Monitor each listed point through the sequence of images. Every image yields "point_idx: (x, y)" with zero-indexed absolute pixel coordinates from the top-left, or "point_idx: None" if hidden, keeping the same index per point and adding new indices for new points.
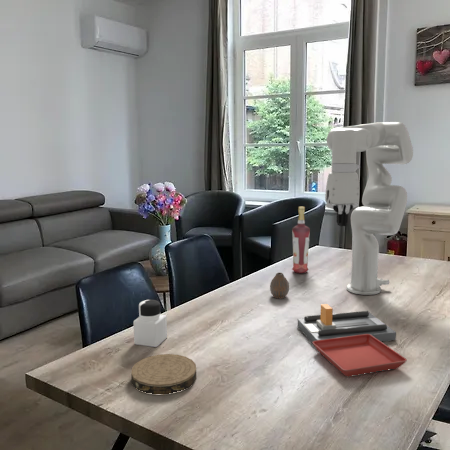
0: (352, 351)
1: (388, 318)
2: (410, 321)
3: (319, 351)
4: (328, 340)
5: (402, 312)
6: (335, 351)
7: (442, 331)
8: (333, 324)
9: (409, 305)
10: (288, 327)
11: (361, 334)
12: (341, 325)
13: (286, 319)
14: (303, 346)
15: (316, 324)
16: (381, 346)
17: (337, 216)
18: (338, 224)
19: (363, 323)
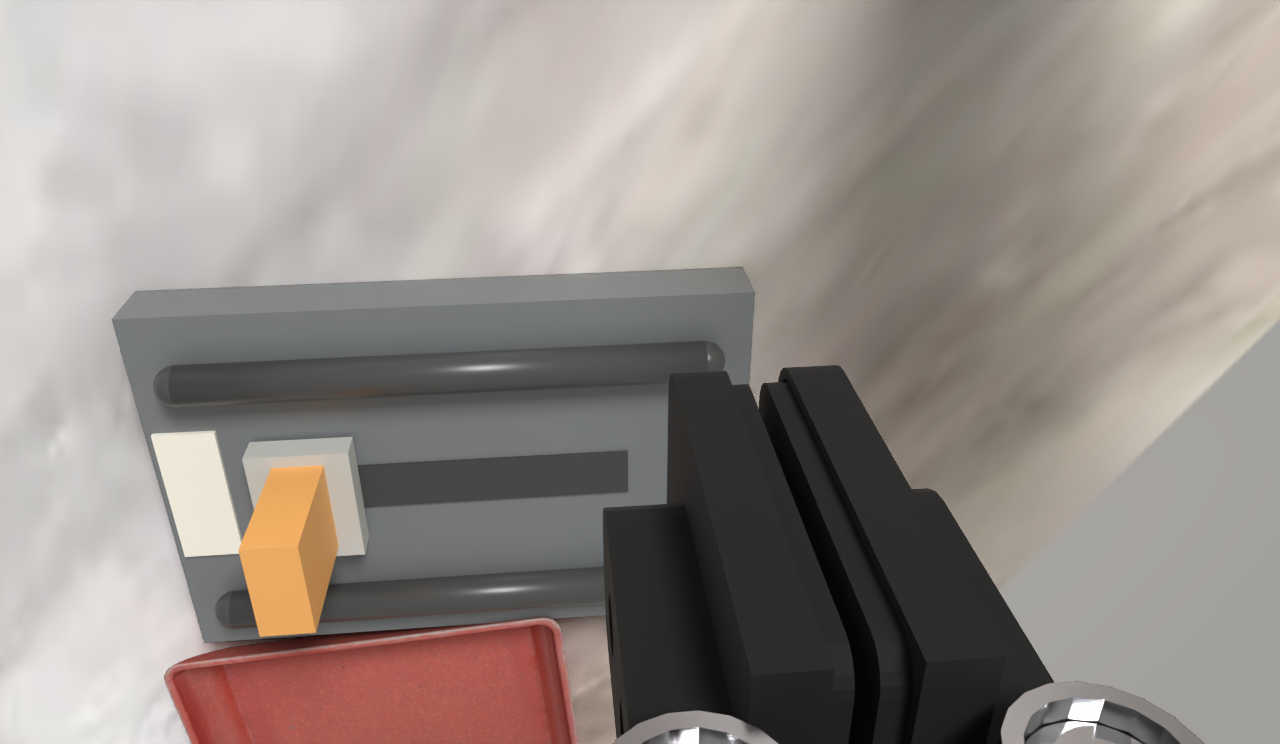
0: (408, 680)
1: (899, 260)
2: (1009, 337)
3: (209, 693)
4: (275, 656)
5: (1084, 166)
6: (312, 672)
7: (1073, 500)
8: (350, 542)
9: (1262, 21)
10: (57, 294)
11: (510, 610)
12: (429, 488)
13: (49, 130)
14: (138, 574)
15: (250, 441)
16: (563, 716)
17: (626, 715)
18: (669, 452)
19: (599, 477)
